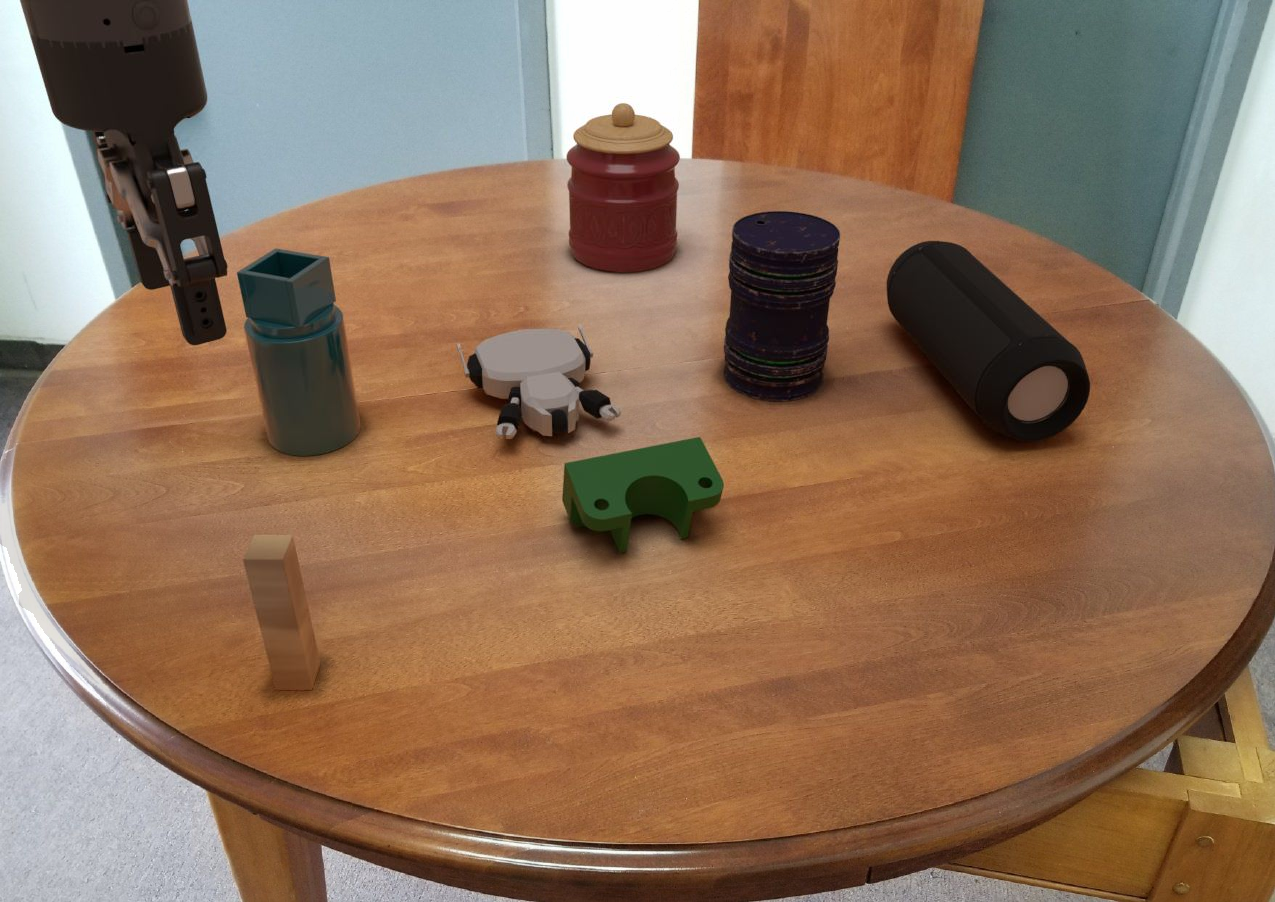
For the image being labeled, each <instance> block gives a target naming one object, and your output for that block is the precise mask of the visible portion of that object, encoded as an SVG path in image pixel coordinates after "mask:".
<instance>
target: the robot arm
mask: <svg viewBox="0 0 1275 902" xmlns="http://www.w3.org/2000/svg"><path fill="white" fill-rule="evenodd" d="M19 2H20V6H21V10H22V13H23V17H24V20H25V22H26V23H25V24H26V27H27V29H28V34H29V37H30V40H31V44H32V47H33V50H34V51H33V52H34V54H35V57H36V58H35V59H36V62H37V65H38V69H39V71H40V74H41V78H42V81H43V85H44V88H45V92H46V95H47V99H48V102H49V106H50V109H51V112H52V114H53V116H54V117H55V119H56V120H57V121H59V122H60V124H63V125H65V126H67V127H70V128H73V129H75V130H80V131H86V132H90V134H91V137H92V141H93V146H94V149H95V152H96V156H97V161H98V165H99V168H100V172H101V176H102V180H103V183H104V187H105V192H106V194H105V197H106V201H107V203H108V204H110V206H111V208H112V209H115V210H116V212H117V214H116V219H117V222H118V223H119V224H121V226H122V228H123V229H124V230H125V229H126V234H127V238H128V241H129V245H130V249H131V252H132V253H131V254H132V257H133V260H134V264H135V267H136V271H137V275H138V279H139V282H140V283H141V285H142V286H143V287H144V288H145V289H146V290H150V291H154V290H157V289H158V290H159V289H161V288H162V289H163V288H165V287H170V291H171V295H172V299H173V303H174V306H175V310H176V315H177V319H178V323H179V326H180V330H181V334H182V337H183V338H184V340H185V341H186V342H187V343H188V344H189V345H190V346H199V345H203V344H207V343H212V342H214V341H218V340H221V339H223V338H224V337H225V336H226V334H227V332H228V330H227V325H226V321H225V317H224V312H223V308H222V307H223V306H222V303H221V298H220V294H219V289H218V285H217V281H216V279H217V278H218V279H219V278H222V277H227V276H228V268H229V267H228V266H229V265H228V263H227V260H226V259H225V255H224V251H223V247H222V242H221V238H220V234H219V229H218V225H217V221H216V216H215V213H214V209H213V203H212V200H211V195H210V191H209V188H208V187H209V186H208V183H207V172H206V170H205V169H204V168H203V166H202V164H201V163H200V162H199V161H196V162H194V159H193V157H192V155H191V152H190V150H189V149H188V148H183V149H181V147H180V145H179V142H178V138H177V137H176V135H175V128H176V127H177V125H179V123H180V122H182V121H183V120H185V119H191V118H193V117H195V116H196V115H198V114H199V113H201V112H202V111H203V110H204V108H206V106H207V103H208V92H207V87H206V82H205V78H204V72H203V68H202V63H201V58H200V53H199V49H198V43H197V39H196V35H195V30H194V29H195V28H194V25H193V21H192V16H191V12H190V7H189V2H188V0H19ZM186 240H191V241H193V242H194V245H195V248H196V250H197V254H198V255H196V256H192V257H187V258H184V255H183V250H182V245H181V244H182V243H183V241H186Z"/></svg>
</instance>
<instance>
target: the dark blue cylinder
mask: <svg viewBox="0 0 1275 902" xmlns="http://www.w3.org/2000/svg"><path fill="white" fill-rule="evenodd" d="M731 232H732V233H731V240H732V241H731V246H730V253H729V258H728V259H729V260H728V269H729V272H728V275H727V279H728V286H729V289H730V300H729V301H730V303H729V304H730V305H729V317H728V318H727V319H726V322H725V328H724V332H725V333H724V334H725V336H724V340H723V341H724V342H723V353H724V366H723V378H724V380H725V383H726V384H727V385H728V386H729V387H730V388H731V389H733V390H734V391H736V392H737V393H739V394H741V395H743V396H745V397H748V398H753V399H756V400H760V401H767V402H790V401H796V400H802V399H804V398H807V397H809V396H811V395H813V394H814V393H816V392H817V391H818V390H819V389H821V386H822V384H823V379H824V372H823V371H824V369H825V364H826V361H827V358H828V357H827V356H828V351H829V350H828V348H829V345H828V344H829V341H830V335H829V334H830V329H829V326H828V319H829V311H830V310H829V309H830V303H831V302H830V301H831V298H832V297H833V295H834V290H835V289H836V285H837V282H836V277H837V275H838V274H837V273H838V266H839V259H838V256H839V246H840V240H841V231H840V229H839V228H838V227H837V226H836V225H835V224H834V223H832V222H830V221H829V220H827V219H824V218H822V217H820V216H817V215H813V214H810V213H804V212H798V211H790V210H789V211H788V210H775V211H774V210H772V211H769V210H768V211H761V212H755V213H751V214H748V215H746V216H743V217H741V218H739V219H738V220H737V221H735V222H734V224H733V225H732V231H731Z"/></svg>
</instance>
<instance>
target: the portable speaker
mask: <svg viewBox="0 0 1275 902" xmlns="http://www.w3.org/2000/svg"><path fill="white" fill-rule="evenodd" d="M886 299H887V306H888V309H889V312H890V314H891V316H892V317H893V318H894V320H895V321H896V322H897V324H898V325H899V326H900V327H901V329H902V330H904V332H905V333H906V334H907V335H908V336H909V337H910V339H911V340H912V341H913V342H914V343H915V344H916V346H917V347H918V348H919V349H920V350H921V352H922V353H923V354H924V355H925V356H926V357H927V358H928V360H929V361H930V363H932V364H933V366H934V367H935V368H936V369H937V370H938V371H939V372H940V373H941V375H942V376H943V377H944V378H945V379H946V381H947V382H948V383H949V384H950V385H951V386H952V387H953V389H954V390H955V391H956V392H957V393H958V395H959V396H960V397H961V398H962V399H963V400H964V401H965V402H966V404H967V405H968V406H969V407H970V408H971V409H972V411H973V412H974V413H975V414H976V415H977V416H978V418H979V419H980V420H981V421H982V422H983V423H984V424H985V425H986V426H987V427H988V429H990V430H992V431H994V432H996V433H998V434H1001V435H1003V436H1007V437H1008V438H1011V439H1015V440H1018V441H1021V442H1039V441H1040V442H1041V441H1044V440H1047V439H1048V438H1049V439H1050V438H1052V437H1054V436H1057V435H1058V434H1059V433H1061V432H1063V431H1064V430H1066V429H1068V428H1069V427H1070V426H1071V425H1072V424H1073V423H1074V422H1075V421H1076V420H1077V419H1078V418H1079V417H1080V416H1081V414H1082V412H1083V411H1084V409H1085V408H1086V405H1087V403H1088V400H1089V397H1090V392H1091V381H1090V377H1089V373H1088V369H1087V367H1086V362H1085V361H1084V358H1083V356H1082V353H1081V351H1080V350H1079V349H1078V348H1077V347H1076V345H1074V344H1073V343H1072V342H1070V341H1069V340H1068V339H1066V337H1065V336H1063V334H1062V333H1060V332H1059V331H1058V330H1057V329H1056V328H1054V326H1052V325H1051V324H1050V323H1049V322H1048V321H1047V320H1046V319H1044V317H1042V316H1041V315H1040V314H1039V313H1038V312H1037V311H1036V310H1034V309H1033V308H1032V307H1031V306H1030V305H1029V304H1028V303H1027V302H1025V300H1024V299H1022V298H1021V297H1020V296H1019V295H1018V294H1017V293H1016V292H1015V291H1013V290H1012V289H1011V288H1010V287H1009V286H1007V284H1006V283H1004V281H1002V280H1001V279H1000V278H999V277H998V276H997V275H996V274H994V272H993V271H991V270H990V269H989V268H988V267H987V266H986V265H984V264H983V263H982V262H981V261H980V260H979V259H978V258H977V257H976V256H974V255H973V254H972V253H971V252H970V250H968V249H967V248H966V247H964V246H962V245H960V244H957V243H955V242H951V241H940V240H926V241H922V242H918V243H916V244H914V245H912V246H910V247H908V248H907V249H906V250H904V251H903V252H902V253H901V254H899V256H898V257H897V258H896V259H895V260H894V262H893V264H892V265H891V267H890V269H889V271H888V275H887V278H886Z"/></svg>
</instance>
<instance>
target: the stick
mask: <svg viewBox="0 0 1275 902" xmlns="http://www.w3.org/2000/svg"><path fill="white" fill-rule="evenodd" d="M242 561H243V562H242V563H243V565H244V570H245V574H246V578H247V582H248V586H249V589H250V594H251V598H252V602H253V605H254V606H253V607H254V609H255V613H256V617H257V623H258V625H259V629H260V634H261V637H262V641H263V642H262V643H263V645H264V649H265V653H266V657H267V661H268V665H269V669H270V673H271V677H272V681H273V685H274V688H275V690H276V691H311V690H313V688H314V686H315V682H316V678H317V677H318V674H319V670H320V668H321V659H320V655H319V650H318V646H317V641H316V636H315V632H314V627H313V622H312V617H311V612H310V609H309V604H308V599H307V594H306V590H305V585H304V580H303V575H302V571H301V566H300V562H299V558H298V552H297V548H296V543H295V539H294V535H293V534H254V535H252V539H251V541H250V543H249V545H248V547H247V549H246V551H245V554H244V555H243V558H242Z"/></svg>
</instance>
